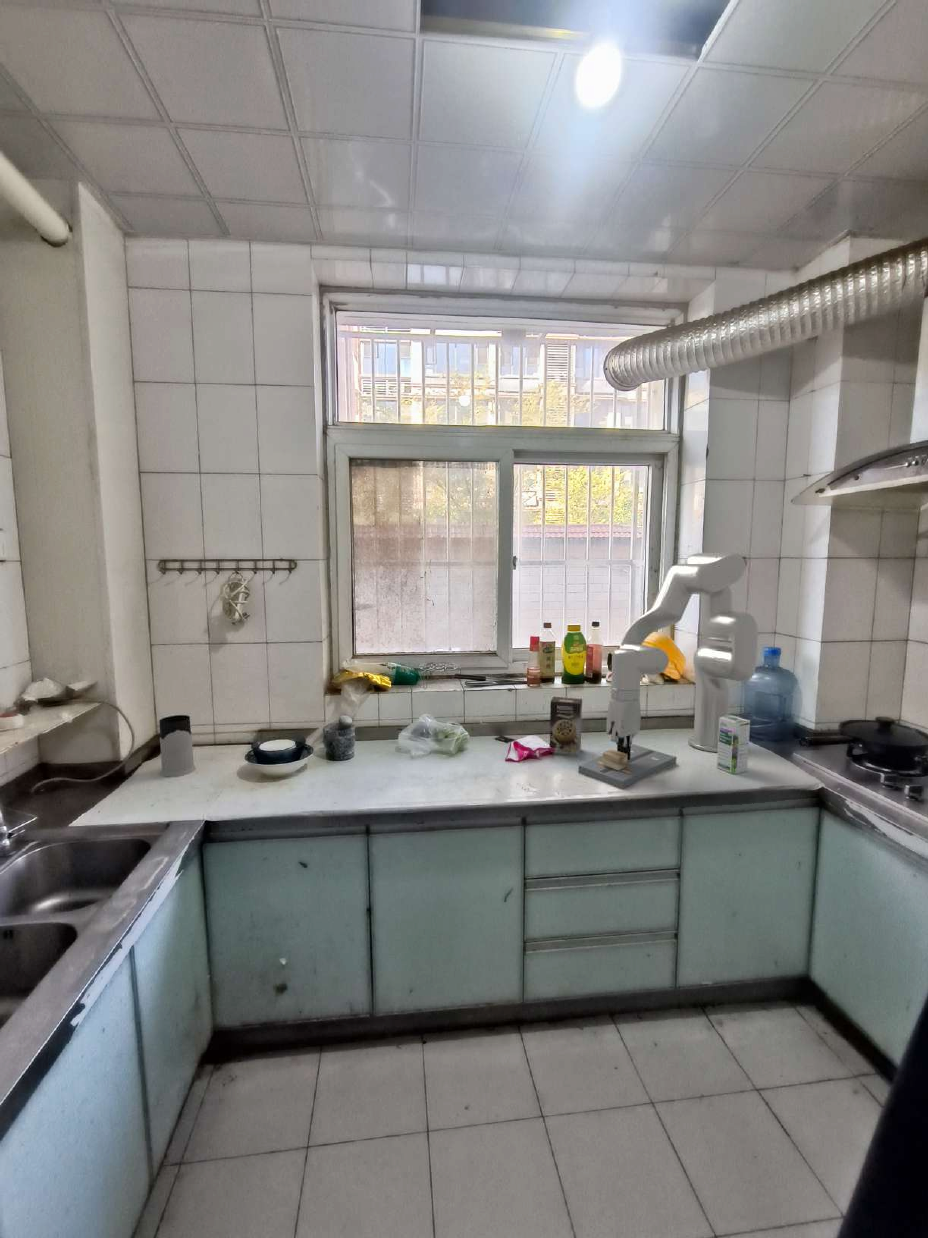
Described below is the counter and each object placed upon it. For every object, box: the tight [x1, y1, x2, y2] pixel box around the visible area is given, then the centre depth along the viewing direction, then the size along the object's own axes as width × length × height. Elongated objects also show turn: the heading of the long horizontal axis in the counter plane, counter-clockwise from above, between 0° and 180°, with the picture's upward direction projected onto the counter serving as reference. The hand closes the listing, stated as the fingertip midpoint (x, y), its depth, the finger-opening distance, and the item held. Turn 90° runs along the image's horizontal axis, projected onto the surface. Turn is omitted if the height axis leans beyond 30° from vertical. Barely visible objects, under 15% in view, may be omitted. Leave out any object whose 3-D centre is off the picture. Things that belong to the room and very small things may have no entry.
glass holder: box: [159, 714, 196, 778], centre depth 152 cm, size 9×14×15 cm, turn 36°
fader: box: [602, 748, 627, 770], centre depth 146 cm, size 4×5×4 cm
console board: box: [577, 743, 677, 790], centre depth 150 cm, size 26×14×2 cm, turn 129°
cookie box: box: [549, 696, 583, 757], centre depth 163 cm, size 9×6×16 cm
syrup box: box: [716, 715, 751, 775], centre depth 148 cm, size 6×6×14 cm
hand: (623, 758), depth 148 cm, fingers closed
